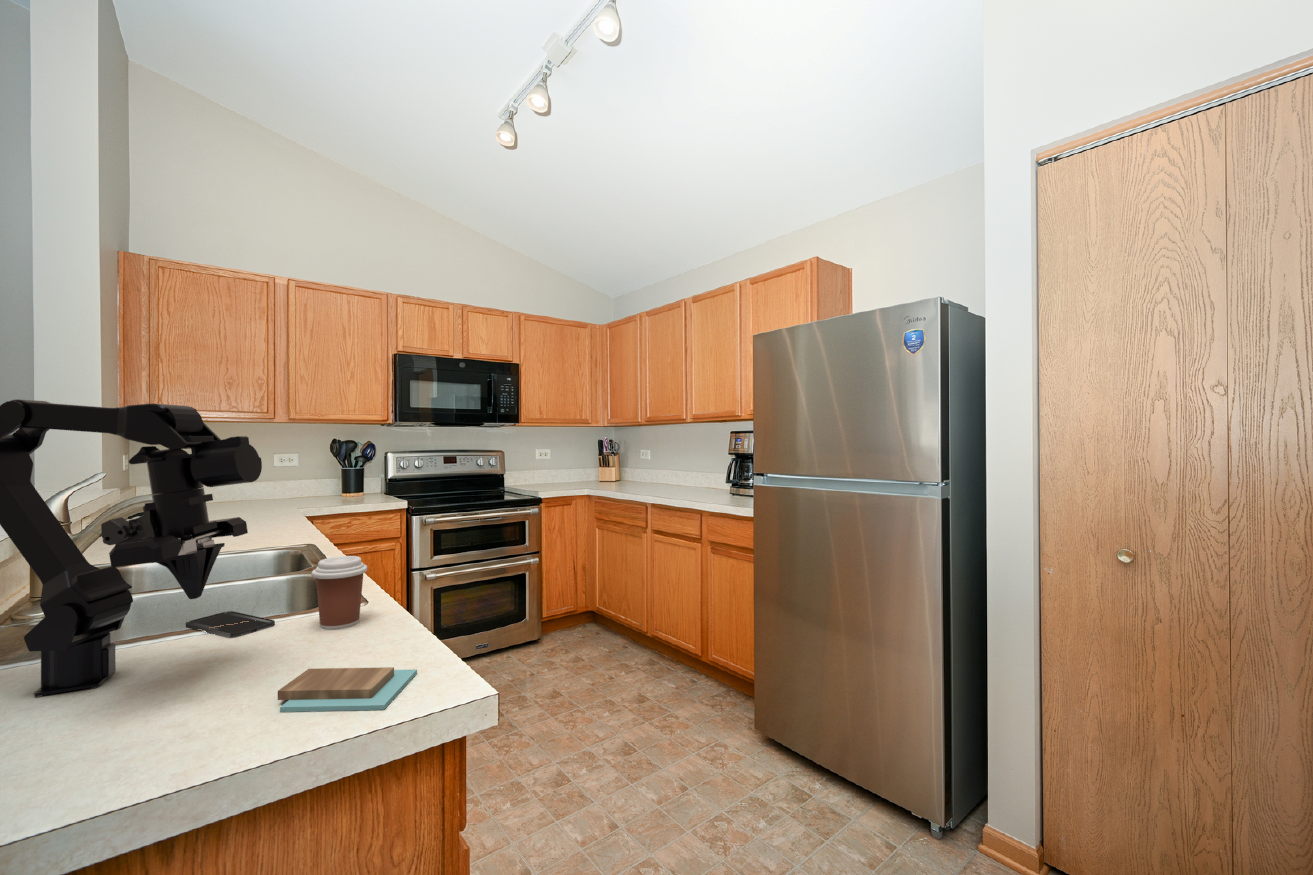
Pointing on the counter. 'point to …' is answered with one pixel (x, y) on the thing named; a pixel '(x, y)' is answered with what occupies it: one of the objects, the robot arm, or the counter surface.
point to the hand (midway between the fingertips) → (195, 598)
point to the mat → (374, 703)
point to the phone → (230, 618)
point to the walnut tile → (336, 683)
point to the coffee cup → (339, 591)
